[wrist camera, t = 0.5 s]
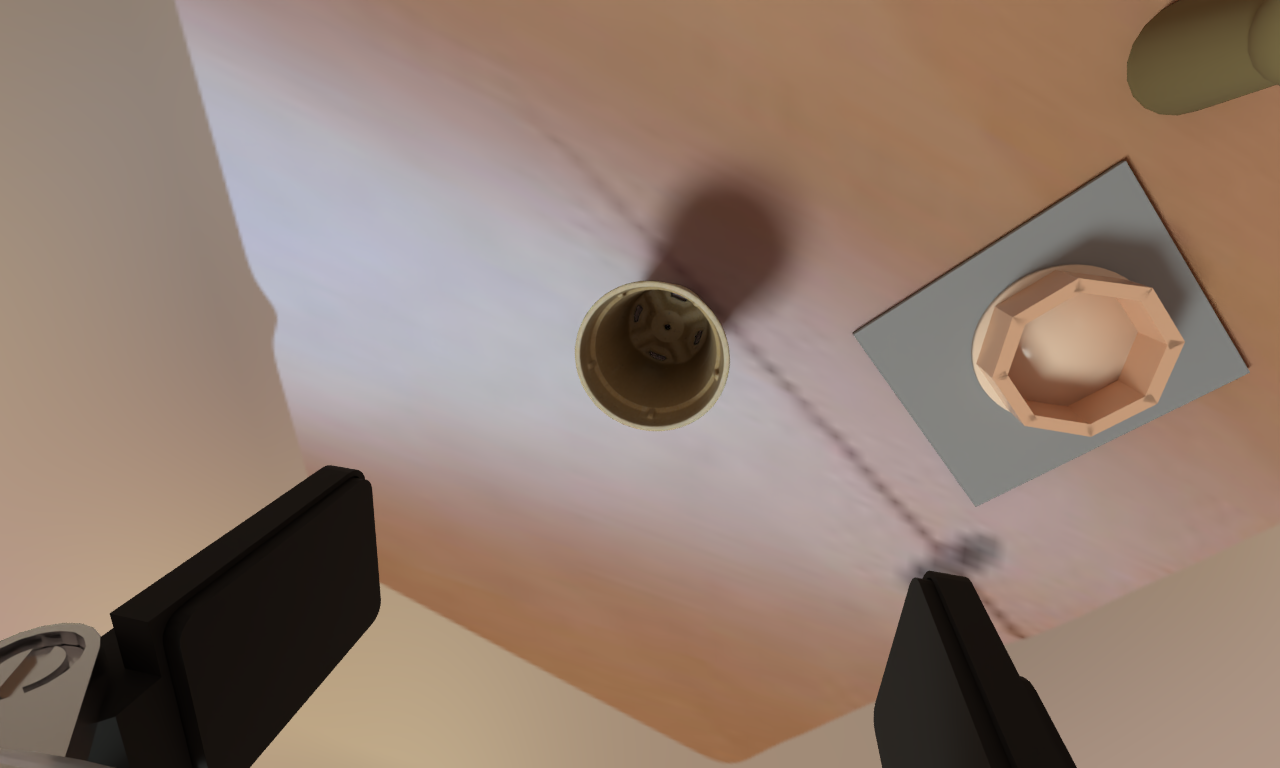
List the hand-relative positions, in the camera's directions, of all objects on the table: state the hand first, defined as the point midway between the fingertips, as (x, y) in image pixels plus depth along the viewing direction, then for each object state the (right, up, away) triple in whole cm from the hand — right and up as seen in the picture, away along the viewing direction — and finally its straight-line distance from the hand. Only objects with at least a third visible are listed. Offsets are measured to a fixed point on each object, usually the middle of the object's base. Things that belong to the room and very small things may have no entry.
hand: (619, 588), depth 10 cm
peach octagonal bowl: (+28, +6, +29) cm, 41 cm away
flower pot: (+3, +8, +34) cm, 35 cm away
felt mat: (+27, +6, +30) cm, 41 cm away
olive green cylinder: (+31, +22, +24) cm, 45 cm away
